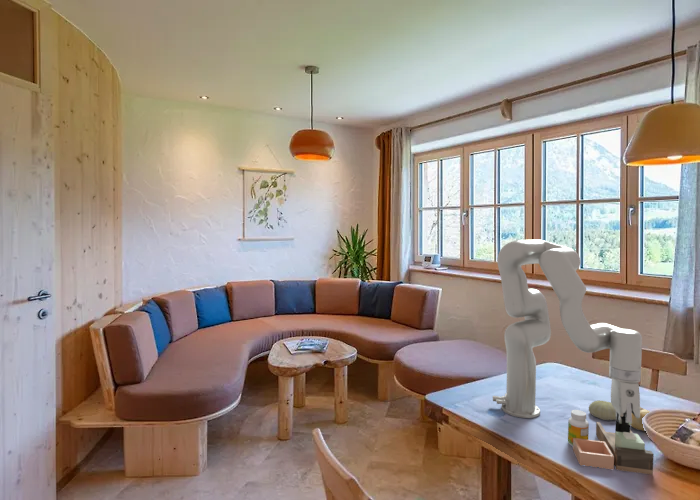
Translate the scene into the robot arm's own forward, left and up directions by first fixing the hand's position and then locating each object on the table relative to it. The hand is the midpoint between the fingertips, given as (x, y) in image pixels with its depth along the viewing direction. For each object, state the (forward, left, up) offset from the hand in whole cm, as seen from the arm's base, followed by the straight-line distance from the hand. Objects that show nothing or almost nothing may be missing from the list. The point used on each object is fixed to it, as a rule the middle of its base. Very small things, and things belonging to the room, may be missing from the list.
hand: (622, 435), depth 123 cm
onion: (+11, +18, -5) cm, 22 cm away
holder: (-9, -6, -5) cm, 12 cm away
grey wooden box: (0, 0, -5) cm, 5 cm away
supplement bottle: (-11, +2, -5) cm, 12 cm away
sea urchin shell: (+2, +25, -5) cm, 26 cm away
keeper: (0, -6, -4) cm, 7 cm away
